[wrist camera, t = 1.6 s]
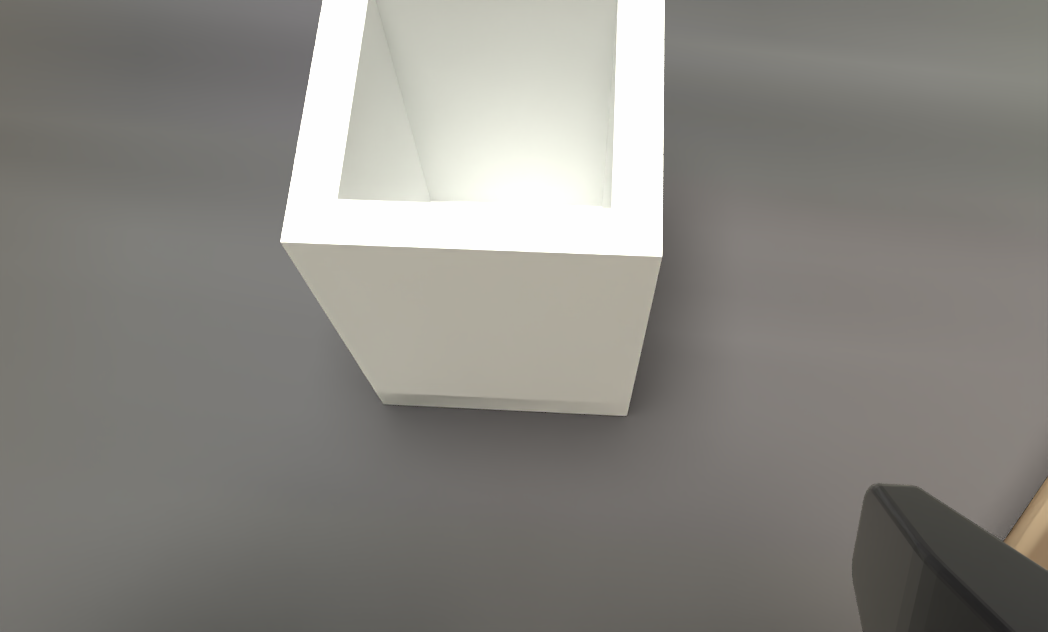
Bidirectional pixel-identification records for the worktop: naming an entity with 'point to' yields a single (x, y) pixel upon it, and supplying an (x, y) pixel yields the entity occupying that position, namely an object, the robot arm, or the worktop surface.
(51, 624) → the worktop surface
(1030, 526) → the pine crate
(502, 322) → the white crate
